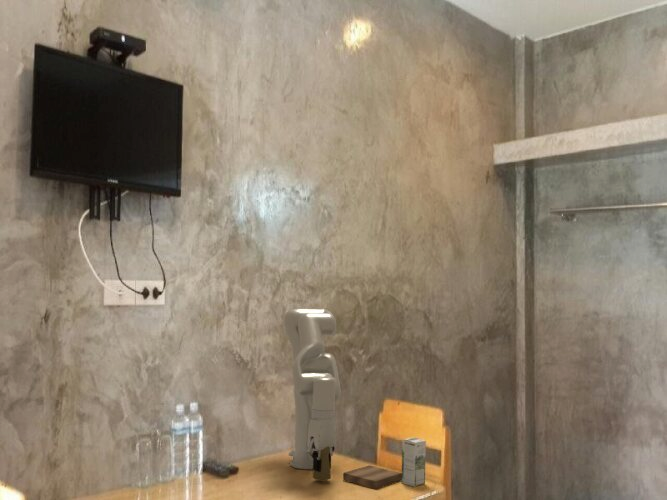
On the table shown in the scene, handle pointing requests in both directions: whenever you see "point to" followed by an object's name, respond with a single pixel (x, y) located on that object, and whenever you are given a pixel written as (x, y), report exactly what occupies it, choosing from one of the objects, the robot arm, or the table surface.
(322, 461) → the cork
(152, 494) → the table surface
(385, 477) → the walnut base
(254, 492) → the table surface
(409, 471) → the syrup box
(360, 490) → the table surface
